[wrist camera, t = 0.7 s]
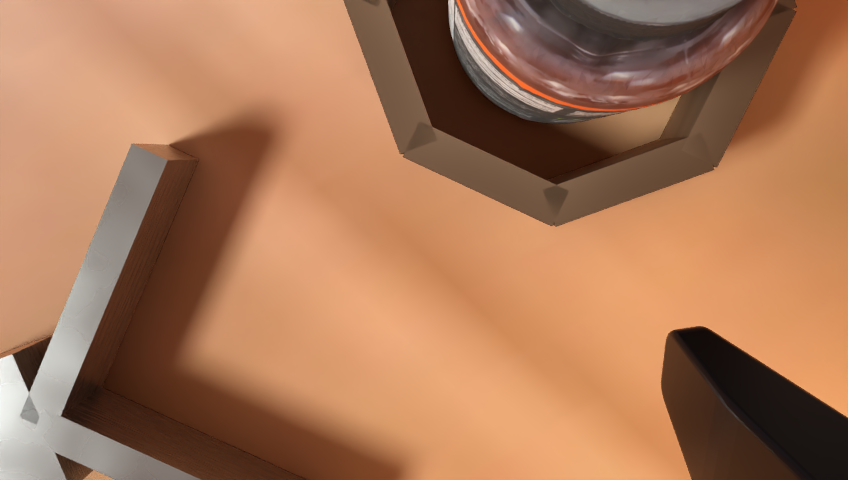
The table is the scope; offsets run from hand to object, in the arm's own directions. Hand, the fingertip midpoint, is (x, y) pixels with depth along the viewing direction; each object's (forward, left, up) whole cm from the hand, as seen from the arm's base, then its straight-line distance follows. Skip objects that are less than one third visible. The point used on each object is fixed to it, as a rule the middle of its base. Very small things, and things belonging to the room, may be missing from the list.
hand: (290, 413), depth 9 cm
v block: (-1, +8, -13) cm, 16 cm away
